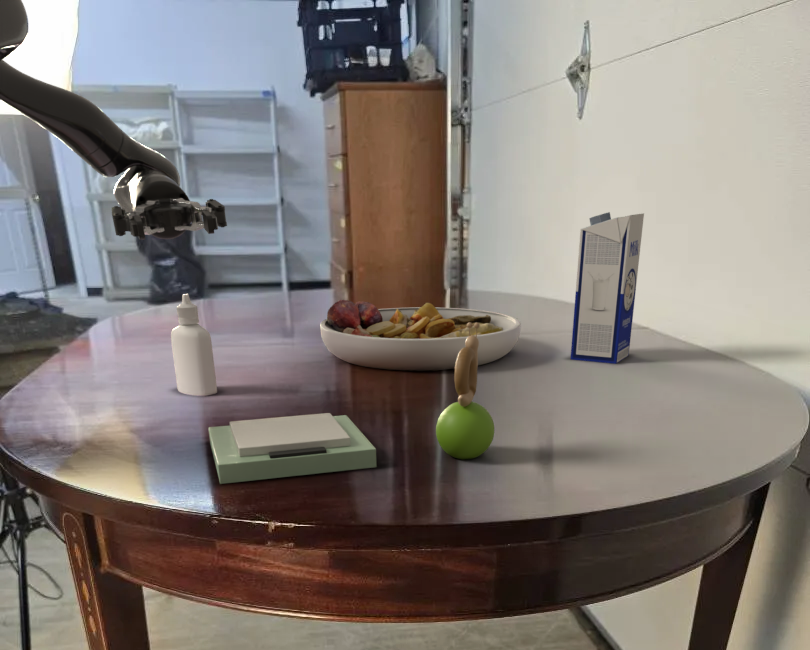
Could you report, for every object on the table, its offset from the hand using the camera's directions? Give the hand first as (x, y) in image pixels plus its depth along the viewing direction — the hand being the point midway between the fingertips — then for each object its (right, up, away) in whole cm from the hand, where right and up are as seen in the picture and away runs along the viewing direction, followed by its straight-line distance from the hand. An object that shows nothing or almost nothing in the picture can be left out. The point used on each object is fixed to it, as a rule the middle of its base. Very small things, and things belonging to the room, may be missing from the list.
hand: (176, 228), depth 96 cm
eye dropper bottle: (+2, -21, +1) cm, 21 cm away
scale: (+18, -31, -23) cm, 42 cm away
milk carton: (+57, -12, +18) cm, 61 cm away
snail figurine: (+34, -31, -23) cm, 52 cm away
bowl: (+31, -11, +22) cm, 39 cm away
